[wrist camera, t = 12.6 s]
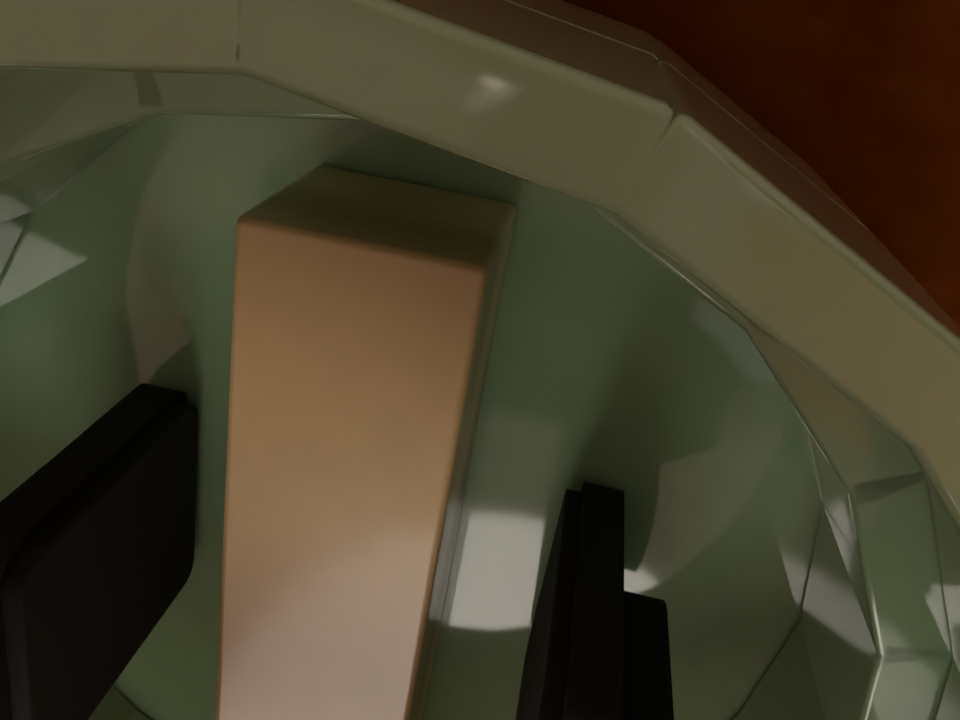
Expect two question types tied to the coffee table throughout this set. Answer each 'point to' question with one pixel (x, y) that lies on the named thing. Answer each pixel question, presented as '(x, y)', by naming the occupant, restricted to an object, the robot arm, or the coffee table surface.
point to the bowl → (510, 330)
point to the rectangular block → (350, 439)
